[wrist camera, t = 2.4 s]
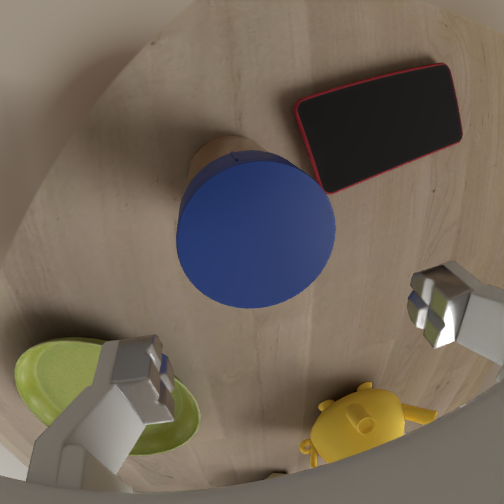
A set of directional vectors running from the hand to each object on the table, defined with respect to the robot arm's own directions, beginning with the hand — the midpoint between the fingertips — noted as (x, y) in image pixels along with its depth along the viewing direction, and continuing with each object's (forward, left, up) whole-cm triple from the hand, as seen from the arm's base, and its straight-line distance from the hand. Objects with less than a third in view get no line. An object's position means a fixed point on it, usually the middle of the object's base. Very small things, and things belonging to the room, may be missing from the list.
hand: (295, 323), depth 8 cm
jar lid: (0, 0, -5) cm, 5 cm away
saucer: (+22, -14, -16) cm, 30 cm away
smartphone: (-5, +12, -16) cm, 20 cm away
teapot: (+29, +16, -16) cm, 37 cm away
